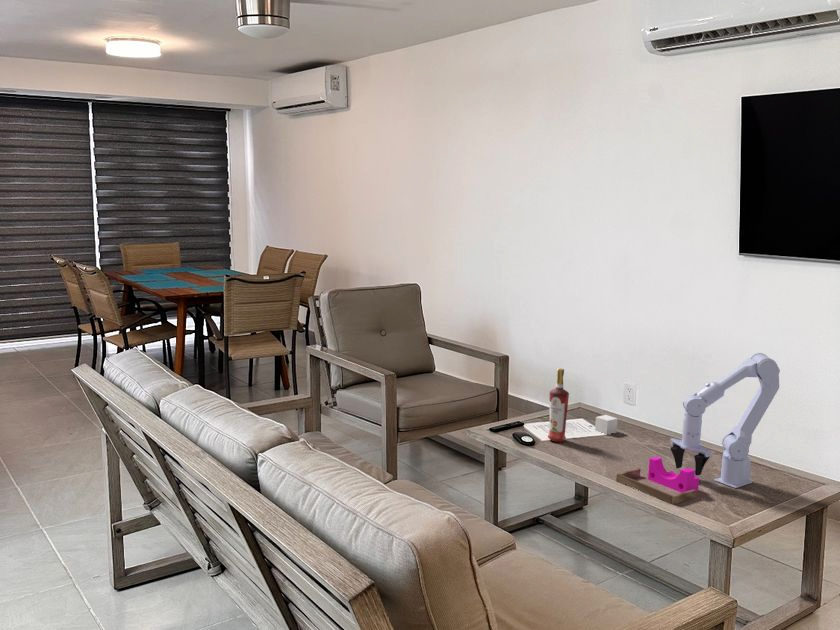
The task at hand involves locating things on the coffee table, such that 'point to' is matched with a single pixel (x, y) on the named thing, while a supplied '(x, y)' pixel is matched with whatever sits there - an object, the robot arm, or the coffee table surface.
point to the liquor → (558, 409)
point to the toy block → (672, 477)
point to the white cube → (606, 424)
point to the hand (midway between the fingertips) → (688, 471)
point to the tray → (626, 479)
